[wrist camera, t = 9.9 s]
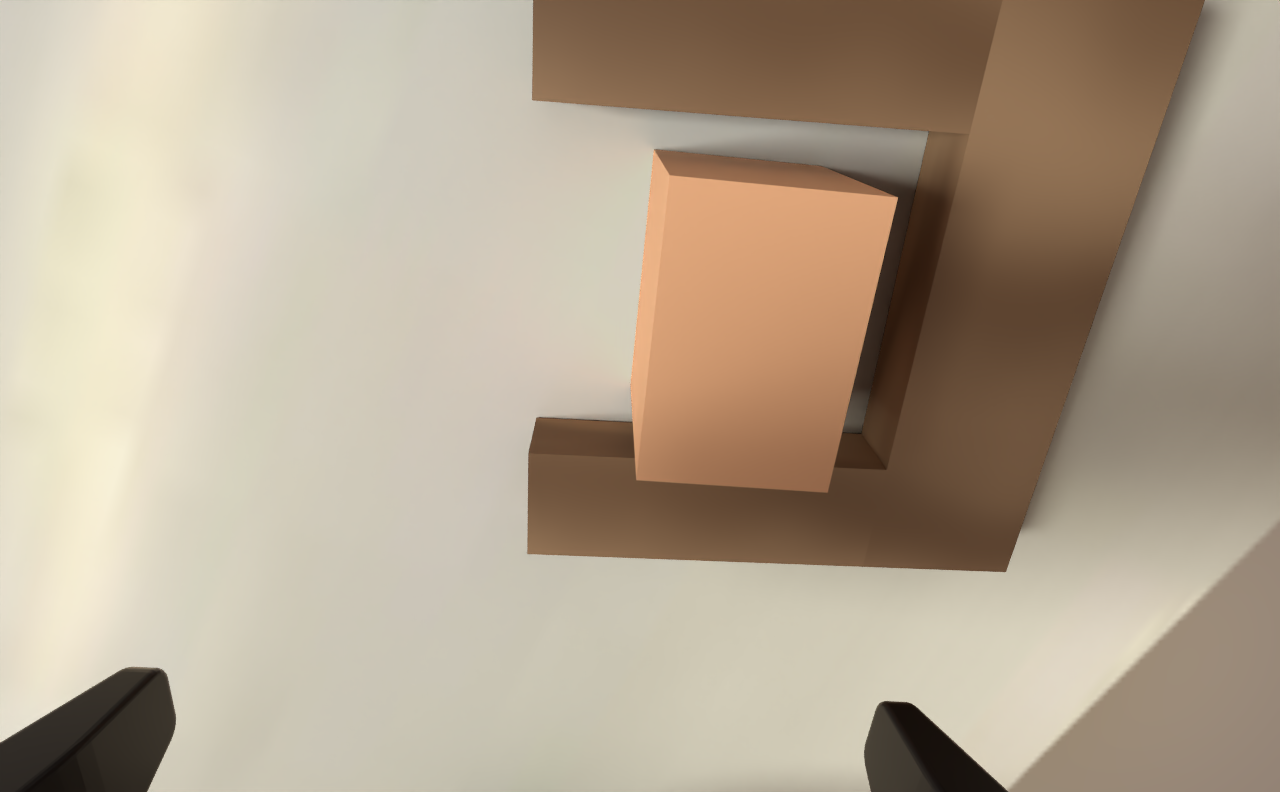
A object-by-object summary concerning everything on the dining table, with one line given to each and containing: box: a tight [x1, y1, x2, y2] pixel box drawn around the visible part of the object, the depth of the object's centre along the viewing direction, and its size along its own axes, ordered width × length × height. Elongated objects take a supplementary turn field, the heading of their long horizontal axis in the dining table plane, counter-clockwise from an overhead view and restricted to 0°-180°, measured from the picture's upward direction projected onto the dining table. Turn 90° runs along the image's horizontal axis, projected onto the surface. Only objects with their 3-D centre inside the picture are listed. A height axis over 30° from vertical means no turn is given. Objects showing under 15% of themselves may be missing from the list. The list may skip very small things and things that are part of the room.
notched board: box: [527, 0, 1205, 572], centre depth 17 cm, size 14×13×2 cm
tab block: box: [631, 149, 898, 493], centre depth 16 cm, size 6×4×5 cm, turn 175°
